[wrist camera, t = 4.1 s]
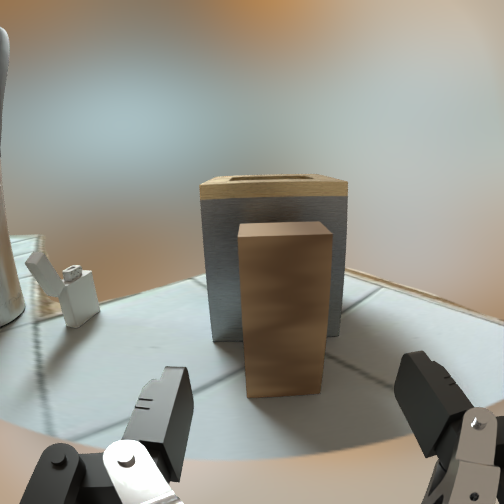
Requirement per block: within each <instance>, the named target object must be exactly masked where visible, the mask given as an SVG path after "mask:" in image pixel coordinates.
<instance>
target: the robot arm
mask: <svg viewBox="0 0 504 504" xmlns="http://www.w3.org/2000/svg"><path fill="white" fill-rule="evenodd" d="M8 63H9V39H8V35H7V33H6V31H5V30H4V29H3V28H1V27H0V142H1V130H2V109H3V99H4V90H5V84H6V77H7V71H8ZM0 157H1V153H0ZM24 308H25V301H24V297H23V294H22V290H21V287H20V283H19V279H18V275H17V270H16V266H15V262H14V257H13V252H12V247H11V242H10V237H9V231H8V225H7V219H6V212H5V204H4V195H3V186H2V174H1V159H0V327H1V326H3V325H5V324H7V323H9V322H10V321H12V320H14V319H15V318H16V317H18V316H19V315H20V314H21V313H22V312H23V310H24ZM394 393H395V397H396V400H397V402H398V404H399V406H400V407H401V409H402V411H403V413H404V415H405V417H406V419H407V421H408V423H409V425H410V427H411V429H412V431H413V433H414V435H415V437H416V439H417V441H418V443H419V445H420V447H421V449H422V452H423V454H424V456H425V458H428V457H431V456H434V455H437V457H438V458H439V459H438V461H437V462H436V464H435V467H434V471H433V474H432V477H431V480H430V483H429V485H428V488H427V491H426V494H425V496H424V499H423V501H422V503H421V504H495V501H496V497H497V499H498V502H499V504H504V416H499V417H495V415H494V414H493V413H492V412H491V411H489V410H488V409H485V408H481V407H475V408H474V406H473V405H472V404H471V402H470V401H469V399H468V398H467V397H466V395H465V394H464V393H463V391H462V390H461V389H460V387H459V386H458V385H457V384H456V382H455V381H454V379H453V378H451V376H450V374H449V373H448V372H447V370H446V369H445V368H444V367H443V366H441V365H440V364H438V363H437V362H435V361H431V360H430V359H429V357H428V356H427V355H426V353H425V352H424V351H417V352H411V353H406V354H404V355H403V357H402V359H401V363H400V367H399V370H398V374H397V377H396V381H395V385H394ZM193 409H194V401H193V394H192V389H191V384H190V379H189V374H188V370H187V368H186V367H170V366H166V367H165V368H164V371H163V374H162V376H161V379H160V380H158V379H152V380H150V381H149V382H148V383H147V384H146V385H145V386H144V387H143V388H142V391H141V393H140V396H139V400H137V403H136V405H135V409H134V410H133V413H132V415H131V417H130V420H129V422H128V425H127V427H126V430H125V432H124V435H123V437H122V439H121V441H118V442H115V443H113V444H112V445H110V446H109V447H108V448H107V449H106V451H105V452H103V453H91V454H78V452H77V451H76V450H75V448H73V447H72V446H70V445H68V444H63V443H58V444H53V445H51V446H49V447H47V448H46V449H45V450H44V451H43V453H42V455H41V457H40V459H39V461H38V463H37V465H36V467H35V470H34V472H33V474H32V476H31V478H30V480H29V483H28V485H27V487H26V490H25V492H24V494H23V497H22V499H21V501H20V504H183V503H182V501H181V500H180V499H179V498H178V497H177V496H176V495H175V494H174V492H173V491H172V489H171V488H170V487H169V483H170V481H172V482H180V477H181V471H182V466H183V461H184V456H185V451H186V446H187V441H188V436H189V431H190V426H191V421H192V416H193Z"/></svg>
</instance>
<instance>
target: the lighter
mask: <svg viewBox="0 0 504 504" xmlns="http://www.w3.org/2000/svg"><path fill="white" fill-rule="evenodd" d="M25 265H26V266H27V268H28V269H29V271H30V272H31V273H32V275H33V276H34V278H35V279H36V281H37V282H38V283H39V285H40V286H41V287H42V289H43V290H44V291H45V293H46V294H47V295H48V296H53V297H58V298H59V302H60V305H61V309H62V312H63V316H64V319H65V322H66V326H69V327H73V328H79V327H80V326H81V325H82V324H84V323H85V322H86V321H87V320H89V319H90V318H91V317H93V316H94V315H95V314H96V313H98V312H99V311H100V307H99V303H98V299H97V295H96V291H95V285H94V281H93V276H92V271H87V270H82V267H81V266H80V265H73V266H71V267H69V268H67V269H65V270H63V271H62V272H63V277H64V279H63V280H61V278H60V277H59V275H58V274H57V272H56V271H55V269H54V268H53V266H52V265H51V263H50V262H49V260H48V259H47V257H46V255H45V254H44V253H43V252H33V253H32V254H31V255H30V257H29V258H28V259H27V261H26V262H25Z"/></svg>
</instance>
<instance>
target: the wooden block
mask: <svg viewBox="0 0 504 504" xmlns="http://www.w3.org/2000/svg"><path fill="white" fill-rule="evenodd" d="M332 241H333V234H332V233H331V232H330V231H329V230H328V229H327V228H326V227H325V226H324V225H323V224H322V223H321V222H320V221H317V222H278V223H248V224H240V226H239V232H238V254H239V273H240V291H241V309H242V326H243V343H244V359H245V375H246V390H247V398H260V397H281V396H296V395H308V394H319V393H320V391H321V383H322V374H323V366H324V356H325V347H326V336H327V325H328V313H329V299H330V284H331V266H332Z"/></svg>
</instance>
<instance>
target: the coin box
mask: <svg viewBox="0 0 504 504" xmlns="http://www.w3.org/2000/svg"><path fill="white" fill-rule="evenodd" d="M199 186H200V202H201V218H202V231H203V245H204V257H205V269H206V280H207V290H208V301H209V310H210V320H211V329H212V338H213V342H220V341H243V326H242V309H241V291H240V273H239V254H238V232H239V226H240V224H248V223H278V222H317V221H320V222H321V223H322V224H323V225H324V226H325V227H326V228H327V229H328V230H329V231H330V232H331V233H332V234H333V241H332V266H331V284H330V299H329V313H328V325H327V336H326V337H330V336H339V328H340V318H341V308H342V297H343V285H344V271H345V255H346V254H345V253H346V235H347V200H348V182H347V181H343V180H339V179H335V178H331V177H327V176H323V175H318V174H283V175H282V174H279V175H244V176H222V177H215V178H213V179H211V180H209V181H207V182H205V183H203V184H201V185H199Z"/></svg>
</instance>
